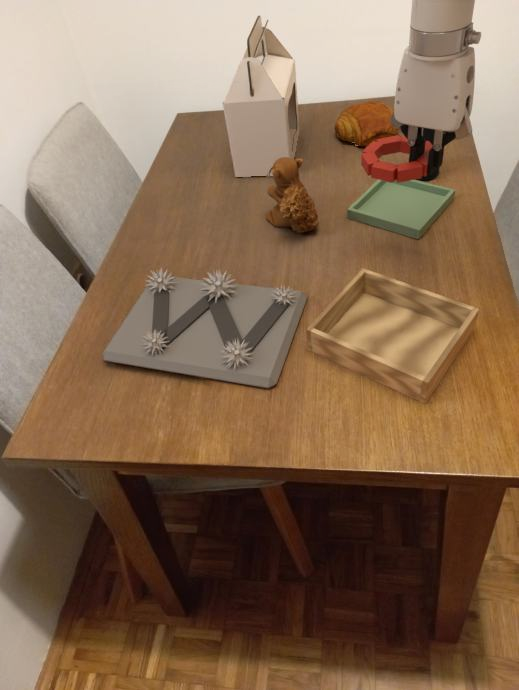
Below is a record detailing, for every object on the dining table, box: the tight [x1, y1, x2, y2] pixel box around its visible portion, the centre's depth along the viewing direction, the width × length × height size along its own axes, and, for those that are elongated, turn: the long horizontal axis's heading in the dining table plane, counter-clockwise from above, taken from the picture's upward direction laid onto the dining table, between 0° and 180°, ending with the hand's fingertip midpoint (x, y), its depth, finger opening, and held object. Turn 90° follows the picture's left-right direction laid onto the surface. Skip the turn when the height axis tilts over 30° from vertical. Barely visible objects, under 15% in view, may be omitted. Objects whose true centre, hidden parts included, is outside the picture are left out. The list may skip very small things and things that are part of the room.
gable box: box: [222, 15, 301, 178], centre depth 119 cm, size 22×13×28 cm, turn 172°
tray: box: [346, 179, 457, 240], centre depth 106 cm, size 16×16×2 cm
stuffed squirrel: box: [264, 157, 320, 234], centre depth 103 cm, size 10×14×13 cm
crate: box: [305, 267, 480, 404], centre depth 80 cm, size 20×17×5 cm
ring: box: [360, 134, 433, 183], centre depth 83 cm, size 11×11×2 cm
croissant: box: [334, 100, 399, 147], centre depth 127 cm, size 14×16×8 cm
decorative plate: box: [101, 267, 308, 389], centre depth 87 cm, size 30×22×7 cm
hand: (424, 167), depth 82 cm, fingers closed on ring, 2 cm apart
